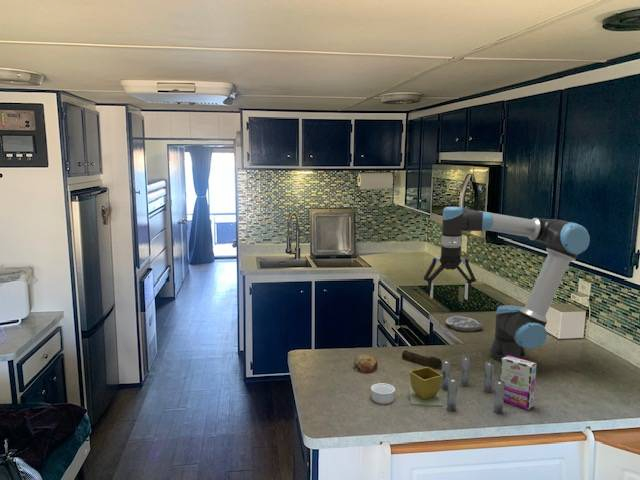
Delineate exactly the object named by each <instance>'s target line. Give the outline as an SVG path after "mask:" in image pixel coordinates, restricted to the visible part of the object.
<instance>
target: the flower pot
mask: <svg viewBox="0 0 640 480" xmlns="http://www.w3.org/2000/svg"><path fill="white" fill-rule="evenodd" d="M442 376H443V375H442V373H439V372H438V371H436V370H435V369H434V368H430V367H429V366H425V367H421V368H417V369H413V370H410V371H409V378H410V384H411V387H412V388H413V390H414V392H415V393H416V395H418V396H419V397H421V398H422V399H428V398H432V397H435V396H436V394H437V393H438V391H440V389H441V381H442Z"/></svg>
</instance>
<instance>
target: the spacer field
mask: <svg viewBox="0 0 640 480" xmlns="http://www.w3.org/2000/svg"><path fill="white" fill-rule="evenodd" d="M441 361H442V370H441V375H443V376H442V381H441V387H440V389H441V390H443V391H447V395H446V396H447V397H446V399H447V400H446V401H447V402H446V410H447V411H449V412H456V411H457V402H458V401H457V398H458V395H457V394H458V382H459V381H458V379H457V378H455V377H451V369H452V368H451V367H452V366H451V365H452V362H451V360H450V359H443V360H442V359H441ZM460 370H461V371H460V386H461V387H463V388H465V387H467V388H468V387H469V385H470V371H471V357H469V356H462V357H461V367H460ZM494 371H495V363H494V362H492V361H485V362H484V376H483V377H484V379H483V391H484V392H485V393H493V394H494V395H493V409H492V410H493V413H495V414H497V415H501V414H504V413H503V412H504V403H505V402H504V389H505V382H504V381H502V380H500V379H496V380H495V381H494V373H495V372H494ZM493 384H494V385H493ZM493 387H494V388H493ZM493 389H494V392H493Z"/></svg>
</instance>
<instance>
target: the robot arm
mask: <svg viewBox="0 0 640 480" xmlns="http://www.w3.org/2000/svg"><path fill="white" fill-rule="evenodd" d="M441 220H442V224H441V225H442V226H441V242H440V243H441V245H442V246H441V247H440V258H438V257H435V256H433V257H432V261H431V264H430V265H429V267H428V269H427V270H426V272H425V274H424V276H423V280H424V281H426V282H427V289H428V291H429V298H430V299H433V298H434V280H435V279H436V278H437V277H438V275H439V274H440V273H442V271H444V269H445V270H447V271H448V270H453V271H454V270H458V272H459V273H460V274H461V276H462V277H463V278H464V279H465V280H466V281H465V282H464V297H463V298H464V299H465V300H468V297H469V295H468V293H469V292H470V291H471V290H472V289H471V287H472V283H475V282H477V279H476V277H475V275H474V273H473V271H472V269H471V267H470V263H469V262H470V261H469V258H467V257H464V258H461V249H462V247H461V245H462V235H463V234H462V233H463V232H487V231H490V232H496V233H503V234H508V235H514V236H519V237H526V238H528V239H529V240H530V241H536V242H539V243H542V244H545V245H547V246H546V248H545V249H546V252H547V256H546V258H545V260H544V263H543V264H542V267H541V269H540V272H539V274H538V275H537V278H536V281H535V283H534V284H533V287H532V290H531V292H530V293H529V296H528V299H527V301H526V303H525V305H524V306H519V305H509V304H508V305H500V306H498V307H497V308H496V313H495V328H494V339H493V341H492V343H491V346H490V349H489V356H490V357H491V358H492V359H494V360H496V361H499V362H501V360H502V358H503V357H505V356H507V355H509V356H513V357H516V358H520V359H523V360H526V358H527V353H526V349H527V350H535V349H536V348H539V347H541V346H542V345H543V344H544V343H545V342H546V340H547V337H548V333H547V330H546V325H547V323H548V320H547V317H546V316H547V314H548V311H549V309H550V307H551V304H552V303H553V300H554V298H555V296H556V293H557V291H558V289H559V287H560V285H561V282H562V280H563V278H564V276H565V273H566V271H567V269H568V266H569V265H570V263H571V262H573V261H576V259H577V257H578V255H580V254H582V253H584V252H585V251H586V250H587V249H588V248H589V245H590V243H591V240H590V234H589V232H588V229H587V228H585V227H584V226H583V225H581V224H578V223H576V222H573V221H566V220H563V219H556V218H555V219H554V218H553V219H552V218H551V219H550V218H541V217H540V218H538V217H533V218H532V219H530V218H525V217H518V216H512V215H507V214H501V213H500V214H499V213H495V212H494V213H493V212H489V211H484V210H483V211H482V210H476V209H471V208H466V207H461V206H446V207H444V208H443V211H442V218H441ZM438 263H440V265H439V266H438V268H436V270H435V271H434V272H433V270H434V268H435V267H436V264H438ZM461 263H462V264H464V265H465V268H466V270H467V272H468V274H469V276H470V278H469V277H468V275H467V274H466V273H465V272H464V271H463V269H462V268H461V267H460V264H461ZM432 272H433V273H432Z"/></svg>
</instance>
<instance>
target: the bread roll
mask: <svg viewBox="0 0 640 480" xmlns="http://www.w3.org/2000/svg"><path fill="white" fill-rule="evenodd" d="M378 364H379V363H378V360H377V359H376V358H375V356H373V355H371V354H369V353H364V354H359V355H357V356H355V358H354V361H353V368H354V369H355V371H356V372H360V373H364V374H372V373H375V372H376V371H377V369H378Z"/></svg>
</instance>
